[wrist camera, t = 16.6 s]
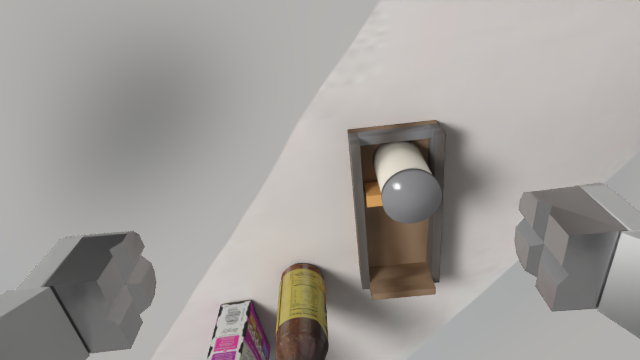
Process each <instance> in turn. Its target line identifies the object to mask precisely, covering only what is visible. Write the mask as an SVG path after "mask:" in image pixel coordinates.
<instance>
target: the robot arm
mask: <svg viewBox="0 0 640 360" xmlns="http://www.w3.org/2000/svg"><path fill="white" fill-rule="evenodd" d="M519 211H520V212H521V214H522V215H523V216H524V219H523V220H522V221H521V222H520V223H519V224H518V225H517V226H516V231H515V247H516V253H517V256H518V258H519V261H520V263H521V265H522V266H523V268H524V269H525V271H527V272H529V273H530V274H532V275H534V276H536V277H537V280H536V288H537V289H538V291H539V292H540V294H541V296H542V297H543V299H544V300H545V302H546V303H547V305H548V306H549V308H550V309H551V311H566V310H582V309H597V308H598V311H599V312H600V313H602V314H604V315H605V316H606V317H608V318H609V319H611V320H612V321H614V322H615V323H617V324H618V325H620V326H621V327H623V328H625V329H626V330H628V331H629V332H631V333H632V334H634V335H636V336H637V337H638V338H640V211H638V210H637V209H636V208H635V207H634V206H632V205H631V204H630V203H629V202H627V201H626V200H625V199H624V198H622V197H621V196H620V195H619V194H617V193H616V192H615V191H614V190H613V189H611V188H610V187H609V186H608V185H606V184H602V183H594V184H586V185H579V186H574V187H566V188H558V189H549V190H541V191H532V192H524V193H523V195H522V197H521V199H520V204H519ZM143 249H144V244H143V242H142V240H141V238H140V235H139V234H137V233H136V232H134V231H130V232H129V231H128V232H116V233H103V234H91V235H81V236H70V237H65V238H62V239H59V240H58V241H57V243H56V244H55V245H54V246H53V247H52V248H51V250H50V251H49V252H48V253H47V254H46V255H45V256H44V258H43V259H42V260H41V261H40V262H39V263H38V265H37V266H36V267H35V268H34V269H33V270H32V271H31V273H30V274H29V275H28V276H27V277H26V278H25V279H24V281H23V282H22V283H21V284H20V285H19V287H18V288H17V289H16V290H9V291H6V292H5V293H3V294H1V295H0V360H85V359H86V358H88V357H89V353H98V352H106V351H114V350H123V349H131V347H132V345H133V343H134V341H135V338H136V336H137V334H138V331H139V330H140V327H141V325H142V323H143V322H142V319H141V318H140V315H139V314H141V313H142V312H143V311H144V310H145V309H147V308H148V307H149V306H150V305H151V303H152V300H153V298H154V295H155V288H156V278H155V272H154V269H153V266H152V264H151V262H149V261H148V260H147V259H145V258H144V257H143V256H141V254H142V252H143Z"/></svg>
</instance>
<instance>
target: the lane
mask: <svg viewBox="0 0 640 360" xmlns="http://www.w3.org/2000/svg"><path fill="white" fill-rule="evenodd" d="M348 139H349V151H350V162H351V174H352V186H353V197H354V209H355V220H356V232H357V244H358V255H359V267H360V275H361V282H362V289H370V290H371V296H372V300H378V299H389V298H400V297H411V296H421V295H432V294H436V288H435V285H434V283H436V282H439V279H440V253H441V228H442V203H443V177H444V152H445V133H444V132H443V130H442V129H441V127H440V126H439V124H438V123H437V121H436V120H431V121H422V122H413V123H404V124H395V125H386V126H377V127H368V128H358V129H349V130H348ZM409 140H412V141H414V142H415V143H416V145H417V146H418V148H419V150H420V152H421V154H422V156H423V158H424V160H425V162H426V164H427V166H428V168H429V170H430V171H431V173H432V175H433V176H434V177H435V178H436V180H437V182H438V184H439V186H440V188H441V191H442V200H441V204H440V206H439V208H438V209H437V211H436V212H435V213H434V214H433V215H432V216H430V217H429V218H427V219H425V220H423V221H421V222H417V223H411V224H407V223H400V222H397V221H395V220H393V219H392V218H390V217H389V216H388V215H387V214H386V212H385V210H384V208H383V206H376V207H367V204H366V199H365V194H364V183H369V182H378V180H377V176H376V172H375V169H374V165H373V154H374V151H375V149H376V148H377V146H378V145H379V144H381V143H390V142H400V141H409Z"/></svg>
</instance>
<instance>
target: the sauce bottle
mask: <svg viewBox="0 0 640 360" xmlns="http://www.w3.org/2000/svg"><path fill="white" fill-rule="evenodd" d="M327 352H328V329H327V310H326V294H325V283H324V278H323V276H322V274H321V272H320V271H319V270H318V269H317V268H316V267H314V266H312V265H309V264H302V263H301V264H294V265H292V266H290V267H289V268H288V269H286V271H284V272H283V274H282V278H281V282H280V288H279V299H278V312H277V325H276V350H275V354H276V359H277V360H325V357H326V354H327Z"/></svg>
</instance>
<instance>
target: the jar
mask: <svg viewBox="0 0 640 360" xmlns="http://www.w3.org/2000/svg"><path fill="white" fill-rule="evenodd" d="M373 165H374V169H375V172H376V176H377V180H378V183H379V187H380V191H381V200H382V204H383V208H384V210H385V212H386V214H387V215H388V216H389V217H390V218H392V219H393V220H395V221H397V222H400V223H407V224H411V223H417V222H421V221H423V220H425V219H427V218H429V217H430V216H432V215H433V214H434V213H435V212H436V211H437V209H438V208H439V206H440V204H441V200H442V191H441V188H440V186H439V184H438V182H437V180H436V178H435V177H434V176H433V175H432V173H431V171H430V170H429V168H428V166H427V164H426V162H425V160H424V158H423V156H422V154H421V152H420V150H419V148H418V146H417V145H416V143H415V142H414V141H412V140H409V141H400V142H390V143H381V144H379V145H378V146H377V148H376V149H375V151H374V154H373Z"/></svg>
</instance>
